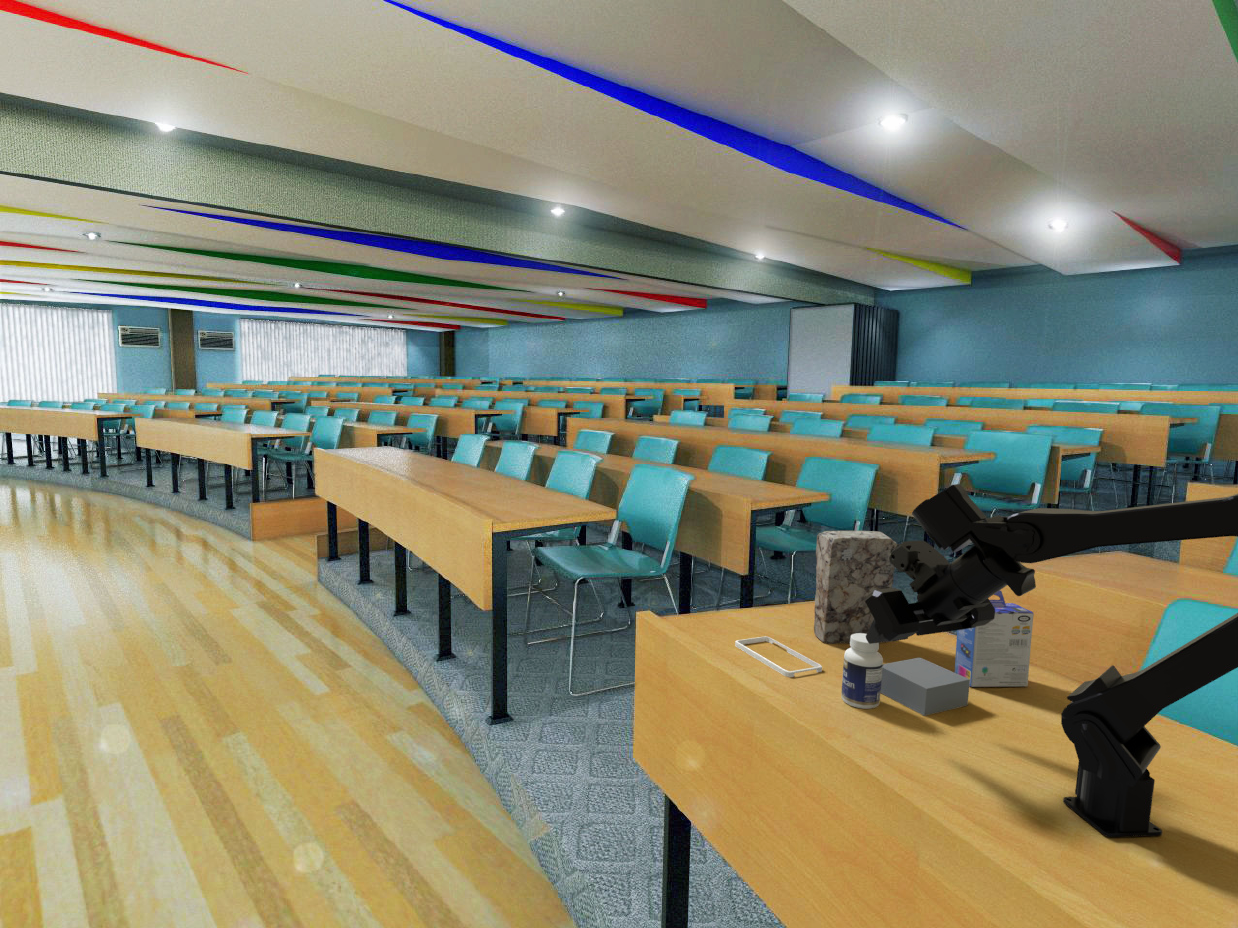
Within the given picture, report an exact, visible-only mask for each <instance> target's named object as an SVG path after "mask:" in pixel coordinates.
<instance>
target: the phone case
mask: <svg viewBox="0 0 1238 928" xmlns="http://www.w3.org/2000/svg"><path fill="white" fill-rule="evenodd" d="M762 642H767V643H770V644H776V645H778V646H779V647H781V648H783V649H785V650H786V653H788V654H790V655H792V656H793V657H795V658H797V659H799V661H802V662H804V663H806V664H807V665H810V666H811V667H809V668H808V667H807V668H802V669H796V670H795V669H794V670H787V669H785V668H783V667H781V666H780V665H778V664H776V663H775V662H773V661H771V660H769V658H766V657H764V656H763V655H761V654H760V653H758V652H756V651H754V650H752V649H751V648H749V647H748V646H746V645H748V644H755V643H762ZM734 646H735V647H736V648H737V649H739V650H740V649H741V651H743V652H744V653H746V654H747V655H749V657H750V656H751V657H752V658H754V659H755V660H757V661H760V663H762V664H764V665H765V666H767V667H769V668H771V669H772V670H774V671H776V672H778V673H779V674H781V675H782V676H784V677H786V678H793V677H795V674H798V673H804V672H808V671H814V670H815V671H816V673H822V671H823V666H822V664H820V663H818V662H816V661H814V660H812V659H810V658H809V657H807V656H805V655H803V654H801V653H800V652H798V651H796V650H794V649H792V648H790V647H788V646H787V645H785V644H783V643H781V642H779V641H778V640H776V639H773V638H772V637H770V636H765V635H764V636H758V637H750V638H745V639H738V640H735V642H734Z"/></svg>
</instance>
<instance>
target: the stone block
mask: <svg viewBox="0 0 1238 928" xmlns="http://www.w3.org/2000/svg"><path fill="white" fill-rule="evenodd" d="M897 544H898V543H897V542H896V541H895V540H893V539H892V538H891V537H889V536H888V535H886V534H884V532H882V531H876V530H872V531H871V530H826V531H823V532H820V533H818V534H817V535H816V547H815V559H816V567H815V569H816V570H815V571H816V573H815V576H816V577H815V578H816V582H815V585H816V586H815V589H816V590H815V596H814V624H813V634H814V635H815V637H817V638H818V639H819V640H820V641H821V642H822V643H823V644H826V645H827V644H830V645H838V644H841V645H843V644H844V645H845V644H850V638H851V635H852V634H856V633H864V634H867V632H868V630H869V628H870V626H871V624H872V622H873V620H874V617H873V616H872V614H871V612H870V610H869V608H868V606H867V604H866V602H865V599H866V597H867V596H868V595H869V594H870V593H871V592H873V591H874V590H878V589H886V588H893V584H894V571H895V567H894V566H893V565H892V564H891V563H890V560H889V557H890V555H891V553H890V551H891V549H894V548H896V546H897Z"/></svg>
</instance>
